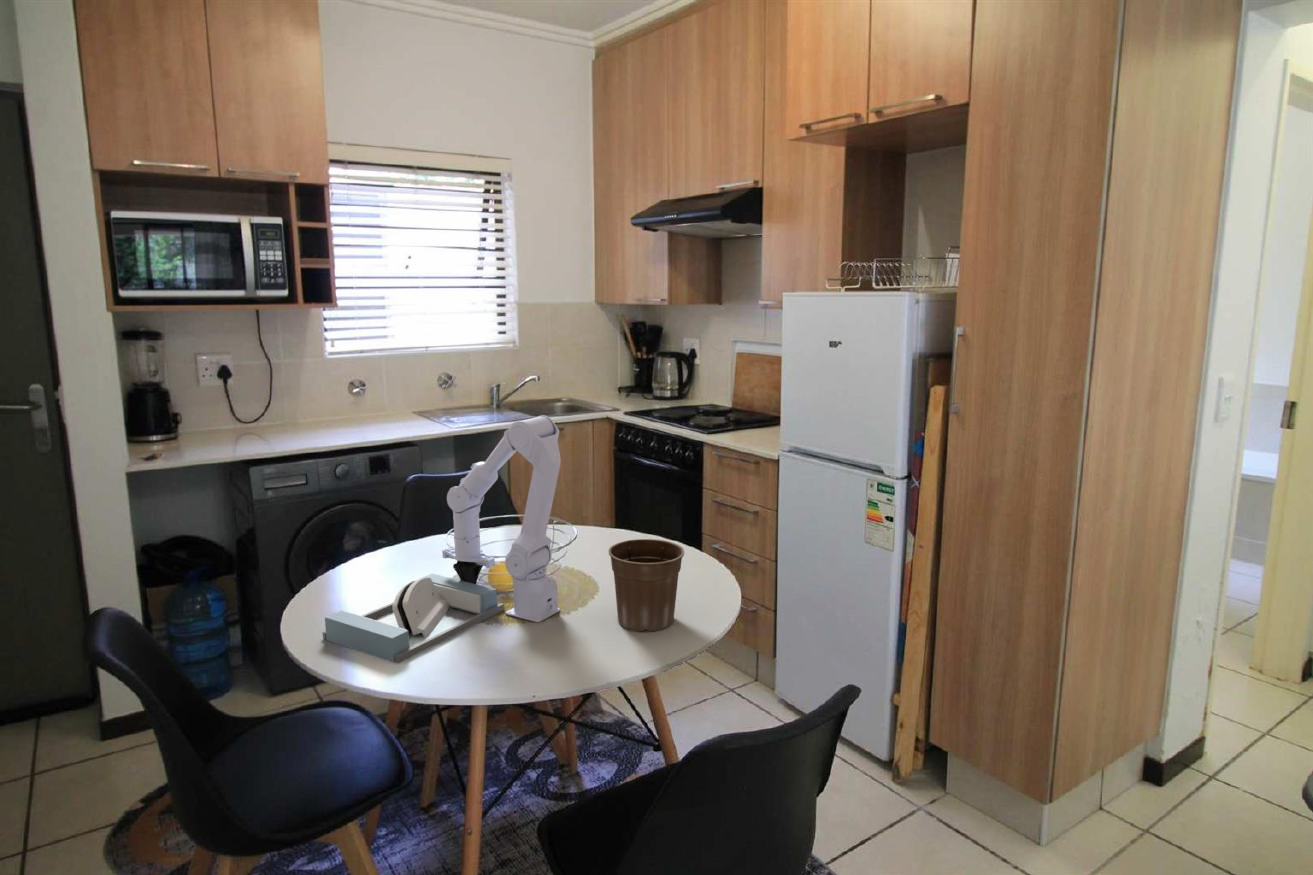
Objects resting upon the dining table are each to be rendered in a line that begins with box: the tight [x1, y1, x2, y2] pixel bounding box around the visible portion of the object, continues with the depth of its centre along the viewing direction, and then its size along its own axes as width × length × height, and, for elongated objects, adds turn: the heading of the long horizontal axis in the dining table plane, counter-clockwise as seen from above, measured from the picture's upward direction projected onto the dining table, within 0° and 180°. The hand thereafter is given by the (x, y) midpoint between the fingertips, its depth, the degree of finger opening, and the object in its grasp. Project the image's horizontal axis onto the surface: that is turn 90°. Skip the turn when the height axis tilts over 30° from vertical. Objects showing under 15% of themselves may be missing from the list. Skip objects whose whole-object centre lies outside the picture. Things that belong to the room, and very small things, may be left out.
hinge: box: [392, 577, 451, 639], centre depth 171 cm, size 17×5×10 cm, turn 178°
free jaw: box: [419, 573, 498, 615], centre depth 180 cm, size 20×4×5 cm, turn 59°
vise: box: [322, 601, 505, 664], centre depth 170 cm, size 22×30×5 cm
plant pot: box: [607, 538, 685, 632], centre depth 170 cm, size 16×16×16 cm
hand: (469, 591), depth 184 cm, fingers closed, pressing on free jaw
